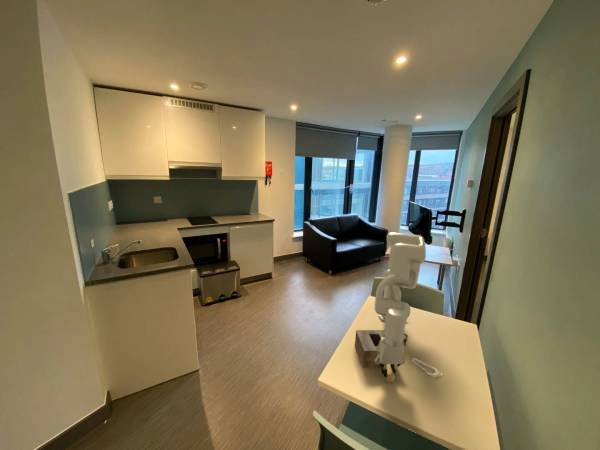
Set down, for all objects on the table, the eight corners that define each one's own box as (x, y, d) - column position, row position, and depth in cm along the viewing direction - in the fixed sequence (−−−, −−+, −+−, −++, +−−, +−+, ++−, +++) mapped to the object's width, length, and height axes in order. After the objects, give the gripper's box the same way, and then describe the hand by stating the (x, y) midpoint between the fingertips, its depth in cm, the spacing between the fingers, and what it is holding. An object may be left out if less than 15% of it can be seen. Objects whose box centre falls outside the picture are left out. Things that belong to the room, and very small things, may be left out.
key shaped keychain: (408, 365, 112) (408, 362, 112) (412, 359, 116) (412, 356, 115) (439, 381, 103) (439, 377, 103) (442, 374, 107) (443, 371, 106)
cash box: (385, 345, 123) (387, 330, 121) (397, 367, 109) (399, 350, 107) (354, 345, 122) (356, 330, 120) (362, 367, 109) (364, 350, 107)
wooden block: (388, 369, 105) (389, 362, 104) (393, 381, 100) (395, 375, 99) (381, 369, 105) (382, 363, 104) (386, 381, 100) (388, 375, 98)
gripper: (408, 331, 102) (402, 367, 106) (370, 332, 101) (366, 367, 105) (417, 344, 94) (410, 382, 99) (376, 345, 94) (372, 383, 98)
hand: (387, 374), depth 102 cm, fingers closed on wooden block, 2 cm apart
